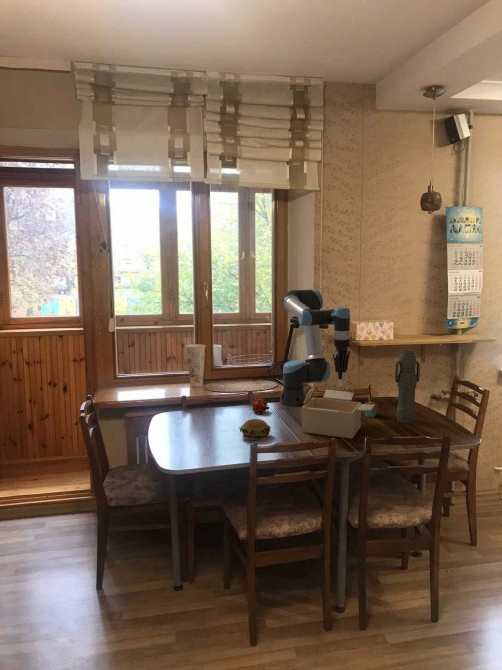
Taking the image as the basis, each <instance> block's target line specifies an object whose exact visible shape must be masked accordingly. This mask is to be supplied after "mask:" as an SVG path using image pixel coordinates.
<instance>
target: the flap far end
mask: <svg viewBox="0 0 502 670" xmlns="http://www.w3.org/2000/svg"><path fill="white" fill-rule="evenodd" d="M374 406H375V404H364V403H361V405H360V406H359V407H358V409H357V411H361V412H362V411H363V412H365V411H371V410H372V409H373V407H374Z"/></svg>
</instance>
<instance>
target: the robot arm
mask: <svg viewBox="0 0 502 670" xmlns="http://www.w3.org/2000/svg"><path fill="white" fill-rule="evenodd" d="M281 298H282V299H281V306H282V308H283V309H285V311H286V312H291V313H292V314H293V315H294V316H295V317H296V318H298V324H299V325H300V326H303V328H304V337H305V345H306V346H305V348H306V355H307V357H306V358H305V360H301V359H295V360H289V361H287V362H284V364H283V368H282V374H283V375H282V383H283V384H282V385H283V386H282V390H281V394H280V399H279V402H280V403H281V404H282V405H284V406H285V405H286V406H293V407H295V406H304V405H305V404H306V403H307V402H308V401H307V402H306V403H305V404H303V402H304V400H305V398H306V395H307V393H306V390H305V384H314V383H315V384H317V383H318V384H319V383H325V382H327V381H328V380H329V378H330V375H331V364H330V362H329V361H327V360H326V357H325V356H324V354H323V349H322V339H321V331H320V330H321V329H320V326H331V325H332V326H334V331H333V339H334V340H333V345H334V347H335V353H332V357H333V362H334V363H333V364H334V369H335V372H336V373H337V386H342V387H343V386H345V373H347V371H348V369H349V368H348V367H349V361H350V360H349V359H350V354H351V351H350V350H348V348H349V347H350V343H351V341H350V334H351V333H350V331H351V328H350V327H351V325H350V324H351V311H350V310H351V309H350V308H349V307H344V306H343V307H335V308H334V309H333V308H332V309H331V308H330V309H325V310H323V307H324V299H323V296H322V293H321V292H320V291H319V290H318V289H293V290H292V289H291V290H289V291H288V292H286V293H285V294H284V295H283V296H282V297H281ZM304 361H305V362H304Z"/></svg>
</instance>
